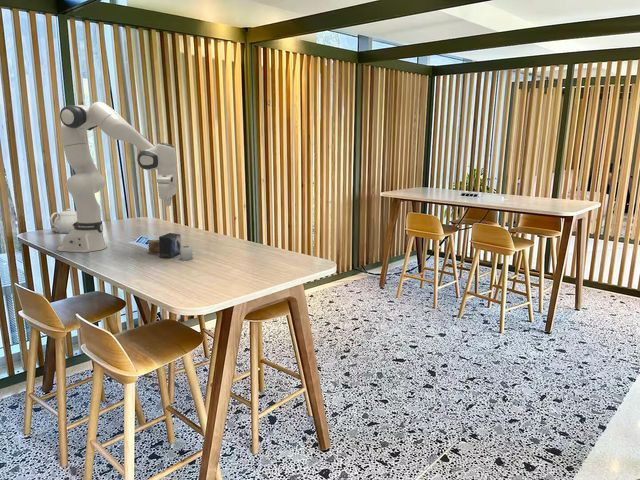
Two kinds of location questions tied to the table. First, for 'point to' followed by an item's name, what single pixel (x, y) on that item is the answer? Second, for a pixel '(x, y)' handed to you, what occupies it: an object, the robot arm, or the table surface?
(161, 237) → the small box
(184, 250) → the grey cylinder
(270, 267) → the table surface
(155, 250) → the walnut cube
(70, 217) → the teapot
